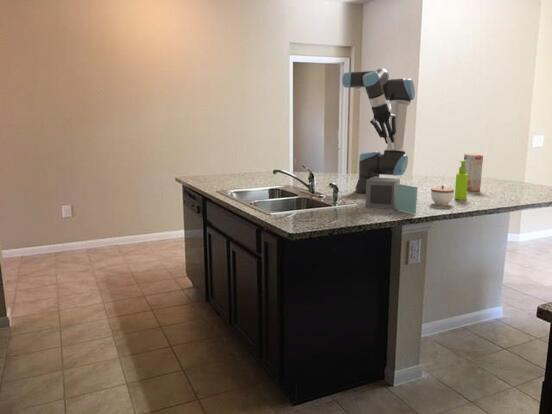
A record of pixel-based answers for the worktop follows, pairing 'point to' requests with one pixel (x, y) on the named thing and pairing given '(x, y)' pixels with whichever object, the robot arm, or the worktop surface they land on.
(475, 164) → the cracker box
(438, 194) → the lidded jar
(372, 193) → the small grey cabinet
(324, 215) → the worktop surface
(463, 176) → the soap dispenser
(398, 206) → the side door
